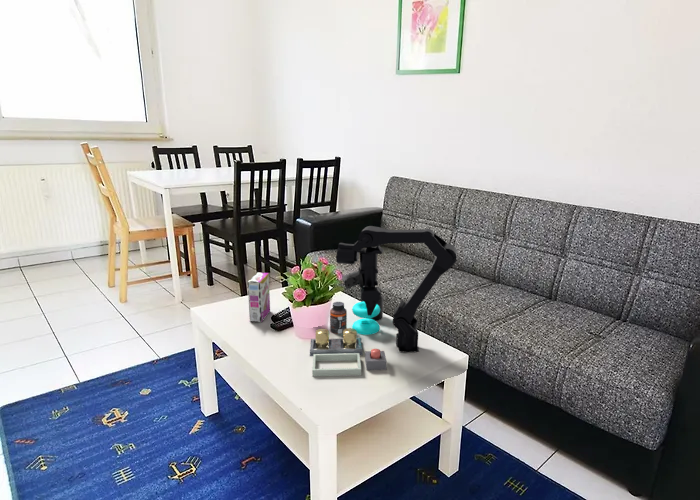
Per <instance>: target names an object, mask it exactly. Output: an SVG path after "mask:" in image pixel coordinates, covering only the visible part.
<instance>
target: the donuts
mask: <svg viewBox="0 0 700 500" xmlns="http://www.w3.org/2000/svg"><path fill="white" fill-rule="evenodd" d="M351 311H352V313H353V314H354V316H356V317H357V318H360V319H357V320H355V321H354V322H353V324H352V325H351V328H353V329H355V330H356V331H357V334H358V335H363V336H364V335H365V336H366V335H367V336H368V335H374V334H376V333H378V332H379V331H380V329H381V327H380V326H381V325H380V324H379V322H378V321H375V320H372V319H367V318H373V317H375V316H377V315H378V314H379V313H380V307H379V305H376V307H375V309H374V311H373V313H372V315H368V313H367V308H366V304H365V302H364V301H359V302H356V303H354V305H353V306H352V309H351Z"/></svg>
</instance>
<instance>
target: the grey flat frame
mask: <svg viewBox="0 0 700 500" xmlns="http://www.w3.org/2000/svg"><path fill="white" fill-rule="evenodd" d="M343 353H359V355H360V356H363V347H362V338H361V337H357V340H356V348H343V337H342V338H329V349H316V338H311V339H310V348H309V357H313V354H343Z"/></svg>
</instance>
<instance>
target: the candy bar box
mask: <svg viewBox="0 0 700 500" xmlns="http://www.w3.org/2000/svg"><path fill="white" fill-rule="evenodd" d="M247 290H248V291H247V292H248V295H247V297H248V310H249V311H248V313H249V314H248V315H249V316H248V317H249V322H250V321H252V322H251V323H258V322H261V323H262V322H263V321H264V320H265V318H266V317H267V316H268V315H269V313H271V301H270V300H271V298H270V296H271V295H270V272H258V271H257V272H256V274H254V275H253V276H252V277H251V278H250V279H249V280H248V281H247ZM263 319H264V320H263Z"/></svg>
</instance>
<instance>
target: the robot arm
mask: <svg viewBox="0 0 700 500" xmlns="http://www.w3.org/2000/svg"><path fill="white" fill-rule="evenodd" d="M385 244H424V245H425V246H426V247H427V248H428V249H429V250H430V252H431V254H432V255H434V256H435V257H434V260H433V262H432V264H431V267H430V268H429V269H428V271H427V272H426V273H425V275H424V276H423V278H422V279H421V281H420V282H419V284H418V285H417V287H416V288H415V289H414V291H413V292H412V294H411V295H410V297H409V298H408V299H407V300H406V301H404V300H403V299H401V300H400V302H399V304H398V305H397V306H396V307H395V309H394V311H393V314H392V317H393V318H392V324H393V327H394V328H396V329H397V333H395V334H396V336H395V345H396V348H397V350H398V352H399V353H417V352H420V351H419V331H418V327H419V326H418V324H419V320H418V319H417V318H416V316H415V315H416V312H417V309H418V308H419V307H420V305H421V304H422V302H423V301H424V300H425V298H426V297H427V295H428V294H429V293H430V291H431V290H432V289H433V287H434V286H435V284H436V283H437V281H438V280H440V278H441V276H442V275H444V274H445V273H446V272H448V271H449V270H450V269H451V268H452V267H453V266H454V265H455V263H457V257H458V251H457V247H456V246H455V245H454V244H452V243H448V242H446V240H445V239H443V238H442V237H441V236H439V235H438V234H436V233H435V232H434V230H432V229H431V228H425V229H387V228H384V227H380V226H375V225H374V226H373V225H369V226H366V227H364V228H363V229H362V230H361V231H360V232H359V234H358V240H357V241H356V242H354V243H344V242H339V243H338V246H337V247H338V248H337V250H336V251H337V252H336V254H335V255H336V256H335V259H336V263H337V264H340V265H341V264H342V265H352V266H353V265H355V264H356V263H358V262H359V266H358V270H357V271H353V272H350V273H348V274H345V275H343V276H342V282H343V284H344V288H345V289H346V290H348V289H351V288H353V287H355V286H357V285H358V287H360V288H361V289H360V291H359V292H360V294H359V295H360V300H361V302H363V301H364V302H365V304H366V308H367V313H368V315H372V313H373V311H374V309H375V307H376V305H377V303H378V301H379V300H380V299H381V295H382V291H381V292H380V290H379V289H378V288H377V287H378V286H379V282H378V274H379V269H378V257H379V255H382V254H383V253H384V251H385V250H384V248H383V247H381V246H383V245H385Z"/></svg>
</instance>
